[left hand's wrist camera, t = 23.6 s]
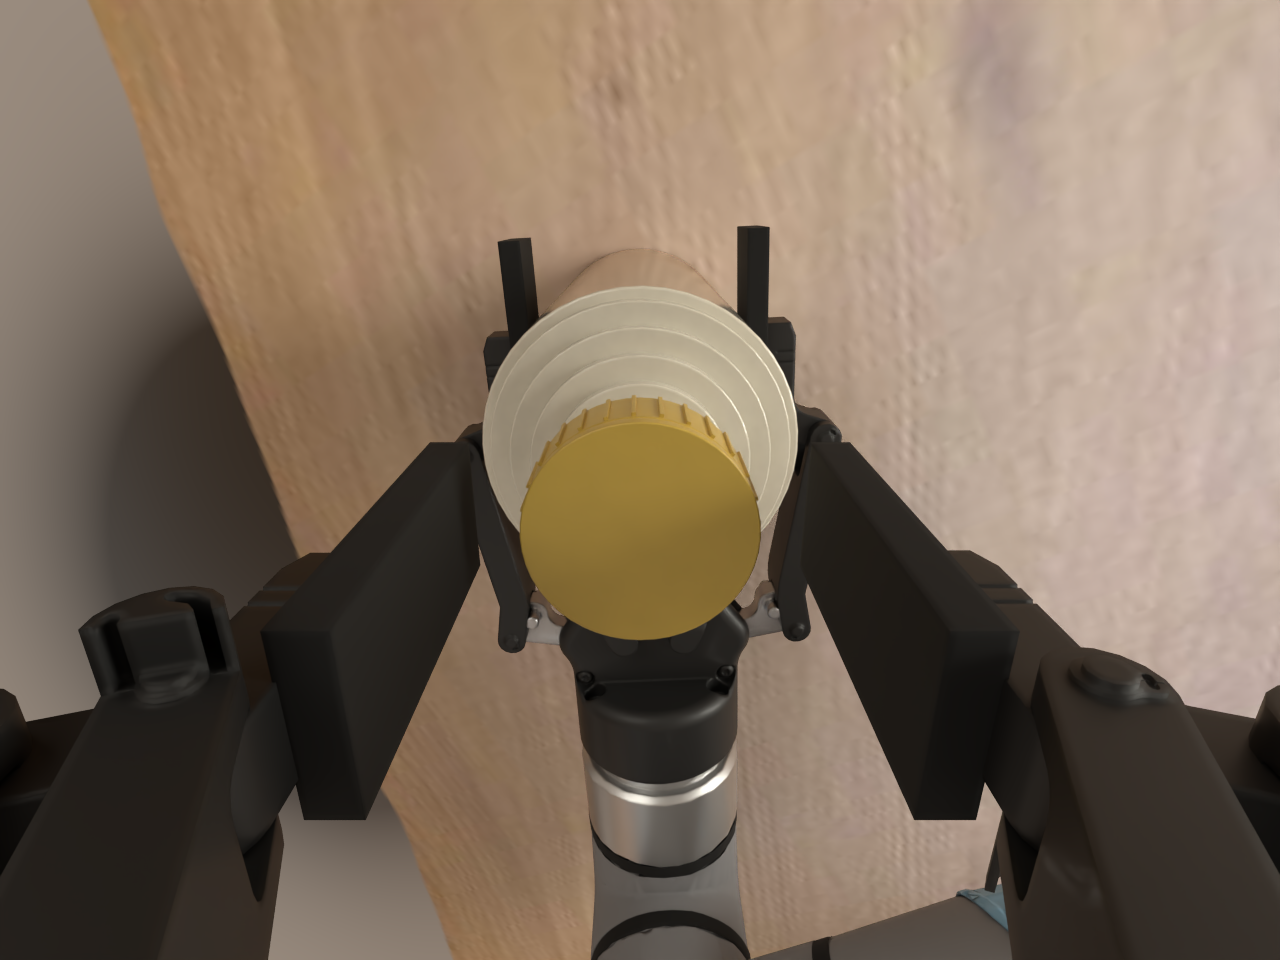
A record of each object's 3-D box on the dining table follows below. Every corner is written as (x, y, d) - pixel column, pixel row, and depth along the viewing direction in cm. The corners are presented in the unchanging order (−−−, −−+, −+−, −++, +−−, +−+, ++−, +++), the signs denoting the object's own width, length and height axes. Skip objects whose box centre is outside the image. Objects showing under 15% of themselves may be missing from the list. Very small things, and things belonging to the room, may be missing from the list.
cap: (778, 554, 15) (796, 596, 13) (584, 623, 15) (577, 672, 14) (705, 358, 13) (714, 380, 12) (492, 443, 14) (472, 475, 12)
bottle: (707, 428, 34) (792, 707, 15) (547, 405, 34) (427, 662, 15) (739, 263, 31) (895, 347, 12) (565, 235, 31) (445, 278, 12)
